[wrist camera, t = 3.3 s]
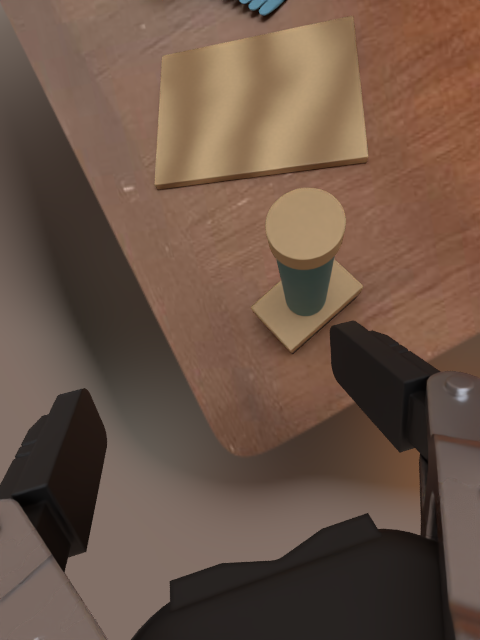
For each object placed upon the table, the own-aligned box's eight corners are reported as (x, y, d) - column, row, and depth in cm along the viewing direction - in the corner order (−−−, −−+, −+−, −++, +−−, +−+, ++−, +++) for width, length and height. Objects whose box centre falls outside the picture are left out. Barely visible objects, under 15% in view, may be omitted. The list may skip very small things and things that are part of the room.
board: (157, 190, 33) (154, 185, 32) (164, 62, 37) (161, 55, 36) (367, 162, 30) (368, 156, 29) (352, 23, 33) (353, 15, 32)
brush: (292, 356, 27) (277, 316, 13) (255, 316, 28) (209, 243, 15) (358, 297, 27) (409, 199, 13) (318, 260, 28) (329, 137, 15)
